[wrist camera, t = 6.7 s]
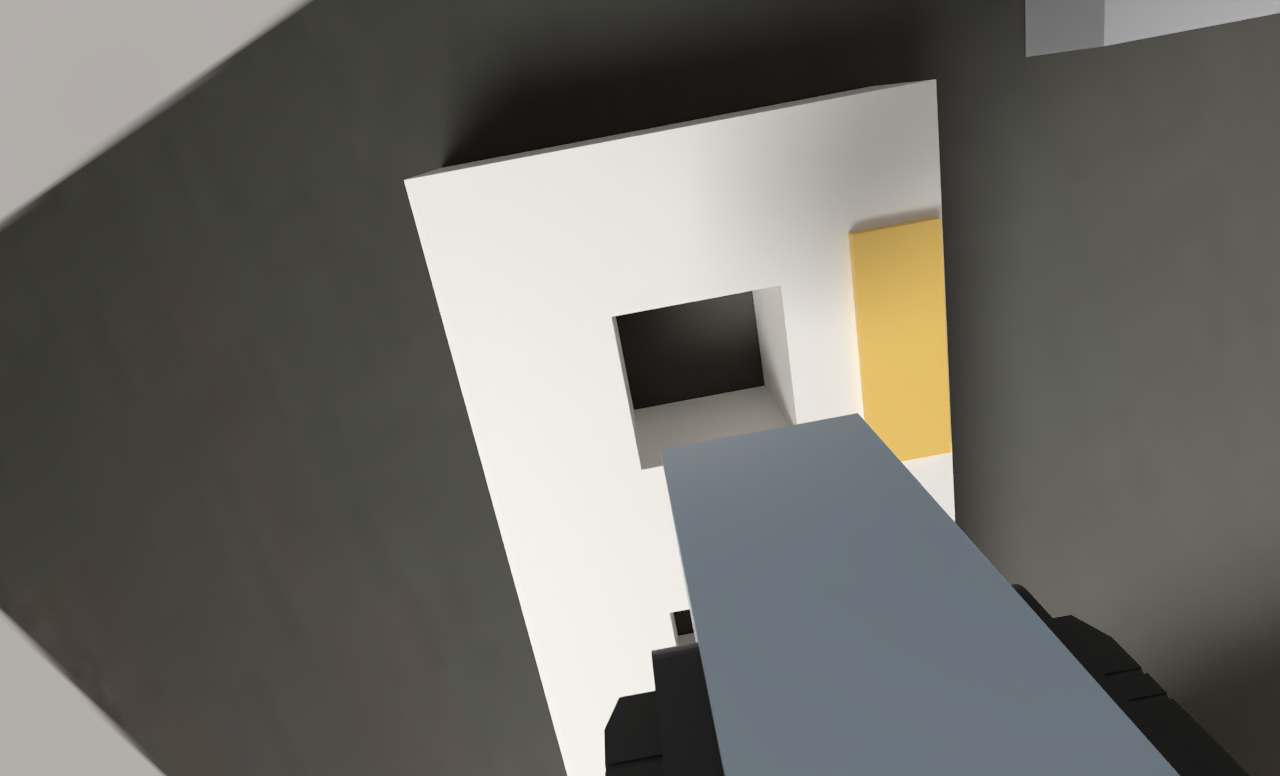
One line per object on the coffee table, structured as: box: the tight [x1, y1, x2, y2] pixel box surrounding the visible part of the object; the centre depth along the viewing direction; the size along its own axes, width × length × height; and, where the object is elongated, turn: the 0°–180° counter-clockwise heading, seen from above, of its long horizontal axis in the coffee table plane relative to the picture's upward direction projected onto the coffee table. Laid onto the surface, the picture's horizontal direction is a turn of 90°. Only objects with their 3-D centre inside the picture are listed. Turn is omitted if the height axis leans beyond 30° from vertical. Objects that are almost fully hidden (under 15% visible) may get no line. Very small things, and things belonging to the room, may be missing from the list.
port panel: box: [404, 79, 955, 776], centre depth 26 cm, size 14×24×5 cm, turn 10°
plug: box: [660, 413, 1180, 776], centre depth 10 cm, size 4×4×10 cm
